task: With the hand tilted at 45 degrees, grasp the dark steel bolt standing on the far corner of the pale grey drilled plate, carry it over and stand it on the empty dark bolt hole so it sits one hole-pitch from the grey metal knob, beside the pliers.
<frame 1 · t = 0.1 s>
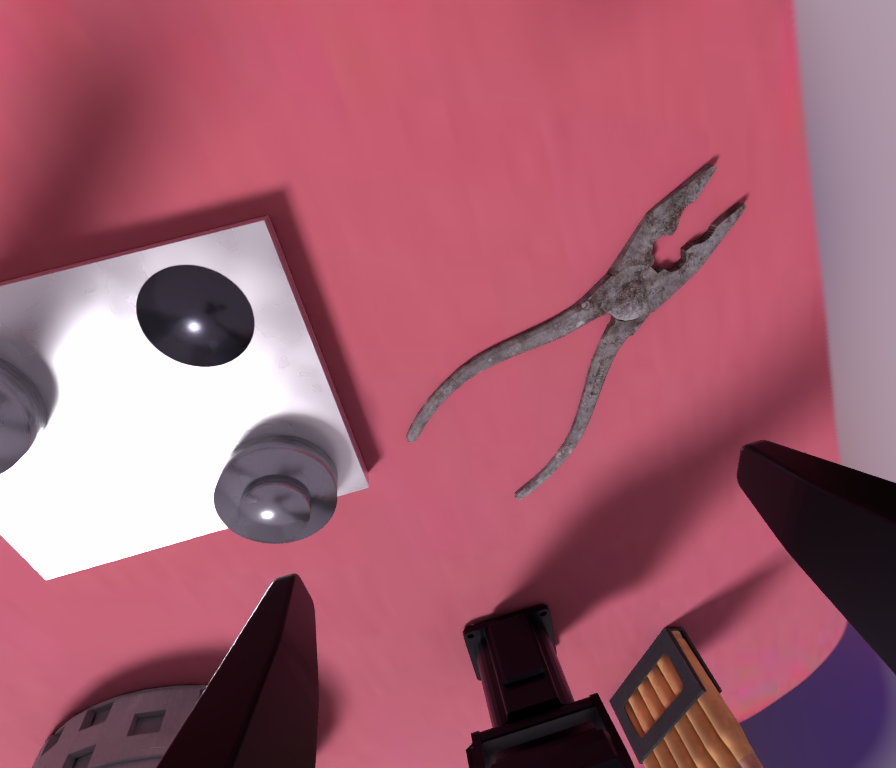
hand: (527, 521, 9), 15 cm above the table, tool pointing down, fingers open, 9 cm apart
grey metal knob: (280, 480, 24), resting on plate
pliers: (553, 334, 25), on the table
ring: (185, 748, 36), on the table
ammunition clip: (643, 663, 42), on the table
plate: (149, 411, 22), on the table
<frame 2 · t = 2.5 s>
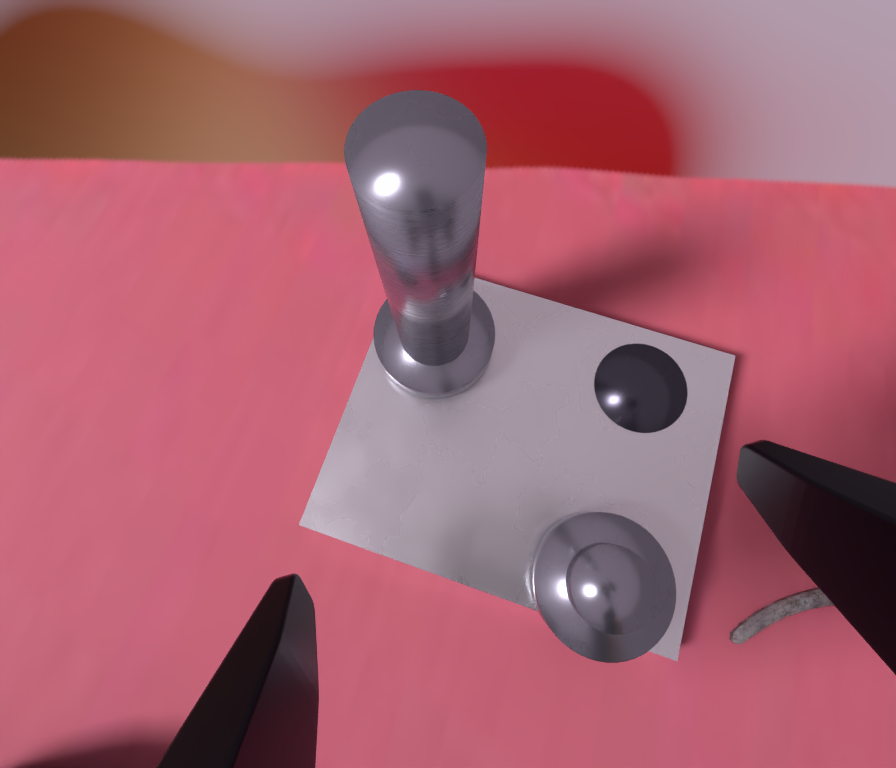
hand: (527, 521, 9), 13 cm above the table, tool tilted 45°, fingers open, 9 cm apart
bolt: (435, 343, 23), point 1 cm above the table, touching plate
grey metal knob: (594, 579, 20), resting on plate
plate: (522, 440, 23), on the table
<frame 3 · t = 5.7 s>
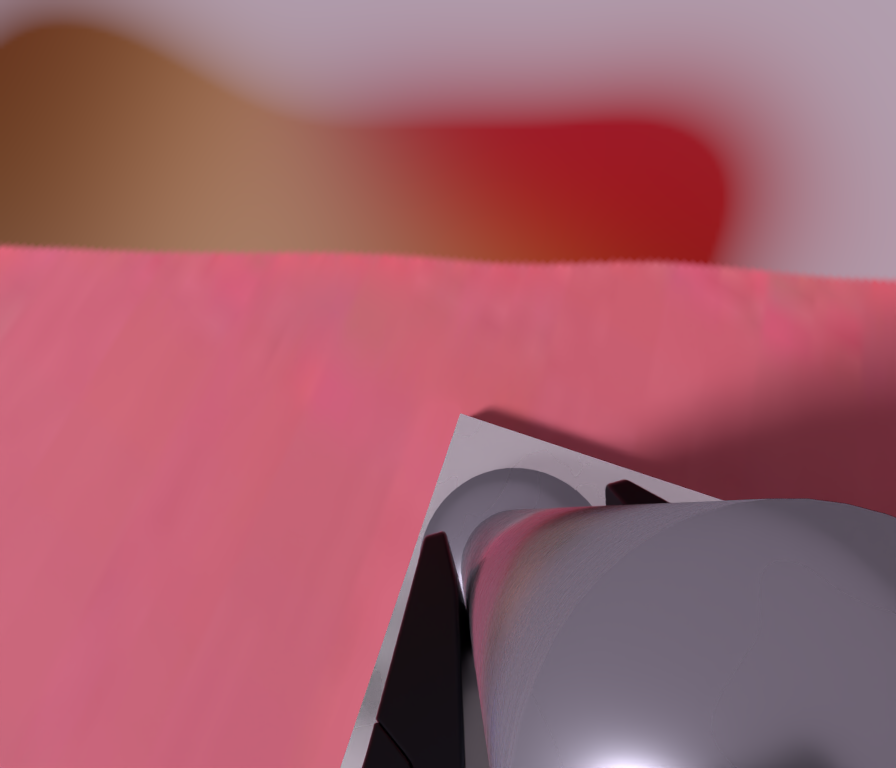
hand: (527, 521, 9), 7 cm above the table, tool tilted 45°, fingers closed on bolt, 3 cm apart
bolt: (511, 562, 15), point 1 cm above the table, touching gripper, plate
plate: (648, 717, 15), on the table
when the fingers open (8 cm above the table, at t = 7.8 s): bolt drops 1 cm, resting on plate.
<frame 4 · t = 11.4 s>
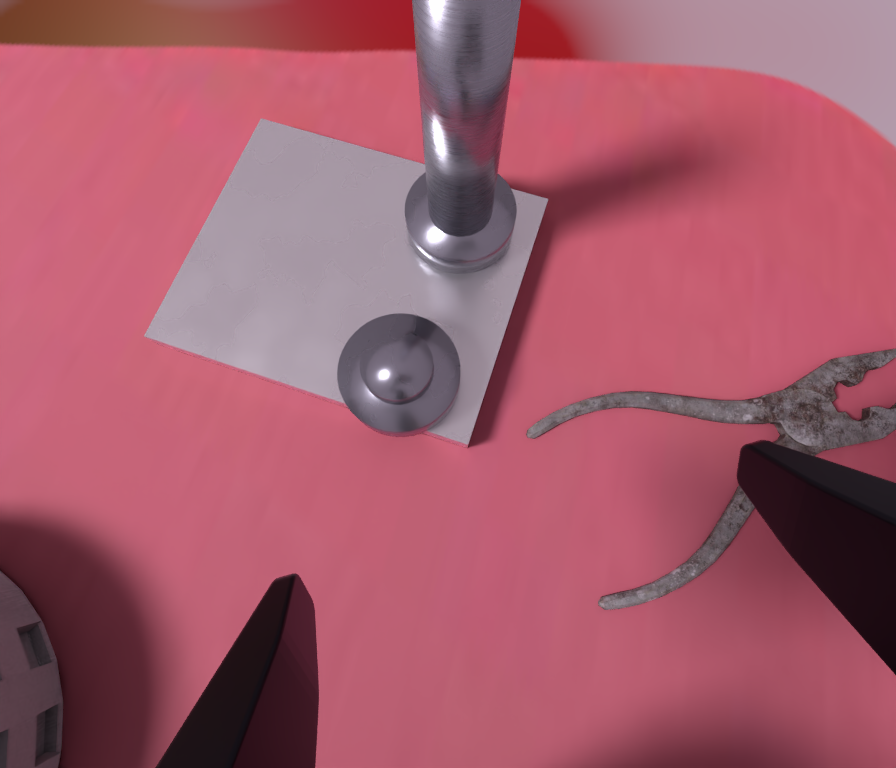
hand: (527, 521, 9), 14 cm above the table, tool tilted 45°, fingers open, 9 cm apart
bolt: (460, 226, 25), point 1 cm above the table, touching plate
grey metal knob: (402, 379, 23), resting on plate
pliers: (712, 426, 24), on the table
plate: (358, 276, 26), on the table
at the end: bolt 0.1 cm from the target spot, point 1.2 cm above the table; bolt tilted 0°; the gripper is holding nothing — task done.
